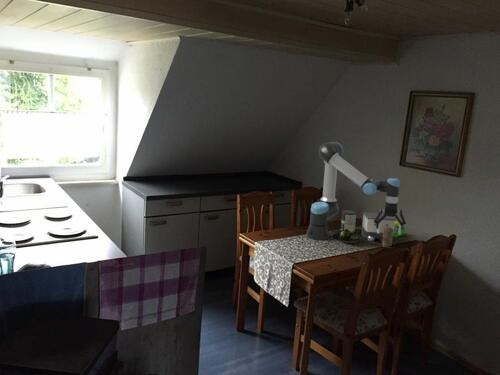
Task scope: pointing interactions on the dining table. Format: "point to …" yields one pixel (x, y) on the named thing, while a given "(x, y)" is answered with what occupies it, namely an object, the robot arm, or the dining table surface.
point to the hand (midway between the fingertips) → (388, 233)
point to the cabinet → (370, 225)
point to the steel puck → (371, 238)
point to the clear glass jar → (348, 220)
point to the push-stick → (387, 237)
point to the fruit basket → (397, 229)
